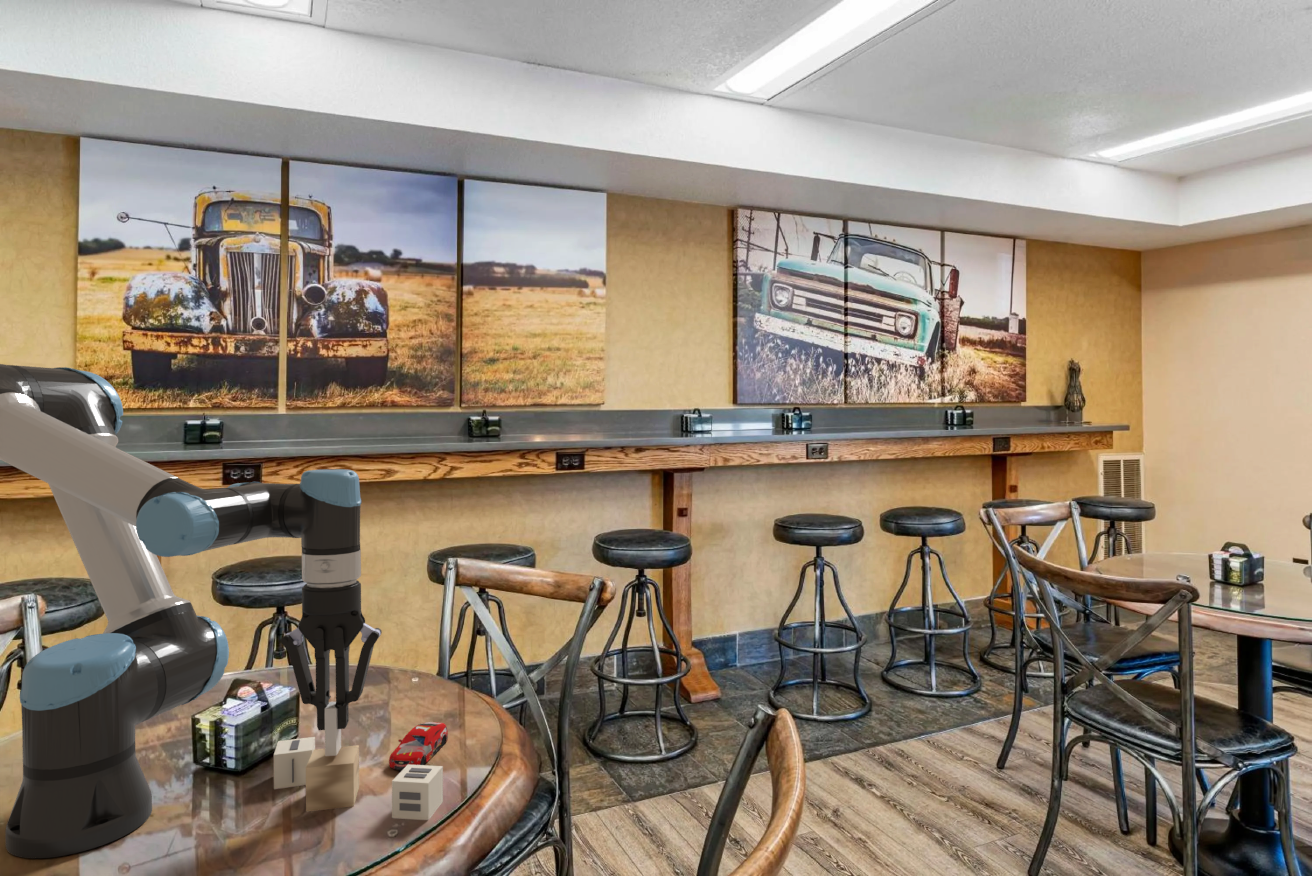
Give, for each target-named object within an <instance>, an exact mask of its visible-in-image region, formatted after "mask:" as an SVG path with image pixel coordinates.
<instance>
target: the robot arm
mask: <svg viewBox="0 0 1312 876" xmlns="http://www.w3.org/2000/svg"><path fill="white" fill-rule="evenodd" d="M123 408H124V407H123V403H122V400H121V398H120V394H118V392H117V390H116V389H115V388H114V386H113V385H112V384H111V383H110V381H109V382H108V381H107V380H106V379H105V378H104V377H102V376H100V375H98V374H96V373H93V372H91V371H87V370H80V369H76V368H72V367H66V366H65V367H62V366H61V367H39V366H30V365H29V366H27V365H13V364H5V363H4V364H3V363H0V461H2V462H4V463H6V464H9V465H10V466H12V467H14V468H16V469H18V470H20V471H22V472H24V473H26V474H29V475H30V476H32V477H35V478H37V479H38V480H40V481H42V482H44V483H46V484H48V486H49V488H50V489H49V490H51V493H52V496H53V497H54V500H55V502H56V505H57V506H58V509H59V512H60V513H61V516H62V519H63V520H64V523H65V525H66V527H67V530H68V532H69V534H70V537H71V539H72V541H73V543H74V546H75V548H76V550H77V552H78V554H79V555H78V556H79V558H80V559H81V562H82V564H83V566H84V569H85V571H86V573H87V575H88V578H89V580H90V583H91V584H92V588H93V589H94V591H95V594H96V596H97V600H99V601H98V602H99V603H100V606H101V608H102V610H103V612H104V614H105V617H106V620H107V625H106V627H105V628H104V631H103V633H97V634H90V635H86V636H84V637H81V638H78V637H77V638H72V639H69V640H66V641H65V640H64V641H63V642H59V643H56V644H54V645H52V646H50V647H47V648H45V649H44V650H42V651H40V652H38V653H37V654H36V655H34V656H32V657H31V658H30V659H29V661H28V662H27V663H26V664H25V666H24V667H23V671H22V677H21V680H22V681H21V690H20V692H19V703H20V705H21V730H22V732H21V733H22V734H21V735H22V736H21V737H22V781H21V784H20V787H19V790H18V793H17V796H16V799H15V800H14V804H13V807H12V810H11V811H10V815H9V817H8V820H7V823H6V826H5V848H6V851H7V852H8V853H9V854H11V855H13V856H15V857H19V858H24V859H47V858H49V859H50V858H57V857H64V856H68V855H69V856H70V855H73V854H78V853H82V852H86V851H89V850H93V849H96V848H98V847H101V846H104V845H107V844H110V843H112V842H114V841H116V840H118V839H121V838H123V837H124V836H127V835H128V834H130V833H131V832H134V831H135V830H137V829H138V828H139V827H141V826H142V825H143V824H144V823H145V822H146V821H147V820H148V819H149V818H150V817H151V815H152V812H153V794H152V790H151V788H150V786H149V783H148V781H147V779H146V777H145V774H144V772H143V770H142V767H141V765H140V763H139V760H138V758H137V755H136V754H137V753H136V752H137V751H136V726H137V725H139V724H140V723H143V722H146V721H148V720H150V719H152V718H154V717H157V716H159V715H162V714H164V713H166V712H168V711H171V710H173V709H176V708H177V707H179V706H181V705H182V706H183V705H187V704H189V703H191V702H192V701H194V700H197V699H198V698H199V697H201V696H202V695H204V694H206V693H208V692H210V691H211V690H212V689H213V688H214V687H216V685H217V684H218V683H219V682H220V680H222V678H223V676H224V675H225V670H226V667H227V666H228V663H229V656H230V648H229V641H228V638H227V635H226V632H225V631H224V629H223V628H222V627H221V625H220V624H219V623H218V622H217V621H215V620H212V619H211V618H210V617H207V616H204V615H197V614H196V611H195V609H194V606H193V604H192V602H191V601H190V600H189V599H185V598H183V597H179V596H177V595H176V594H175V593H174V591H173V589H172V586H171V584H170V582H169V580H168V577H167V575H166V573H165V571H164V569H163V567H162V564H161V562H160V560H159V557H163V558H171V557H178V556H179V557H181V556H182V557H185V556H186V557H187V556H194V555H196V554H199V553H202V552H207V551H209V550H210V551H211V550H214V549H220V548H223V547H227V546H232V545H239V544H242V543H247V542H252V541H257V540H261V539H266V538H267V539H268V538H285V539H286V538H292V539H301V543H300V544H301V546H300V547H301V581H303V582H304V583H305V584H304V585H303V586H302V587H301V613H302V616H301V619H300V620H299V622H298V627H296V628H295V629H293V630H292V631H291V630H290V631H287V633H286V634H284V635H283V636H282V637H281V639H280V643H281V644H282V646H283V647H284V648H285V650H286V651H287V653H288V654H289V659H290V662H291V665H292V669H293V670H292V671H293V672H294V673H293V674H294V676H295V681H296V684H297V688H298V691H299V694H300V698H301V702H302V704H303V705H304V704H305V705H309V704H310V705H313V706H314V707H316V727H317V730H318V731H324V748H325V756H336V755H337V754H338V752H339V750H340V748H341V747H342V730H344V729H346V728H347V726H348V723H349V721H350V719H349V717H350V716H349V715H350V714H349V704H350V703H353V702H357V701H359V699H360V698H361V696H362V694H363V691H364V689H365V688H364V687H365V683H366V679H367V674H368V670H369V667H370V663H371V659H372V655H373V651H374V647H375V644H376V642H377V641H378V640H379V638H380V636H381V635H382V632H383V631H382V629H381V628H379V627H375V628H374V627H372V626H370V625H369V624H368V623H366V619H365V617H364V615H363V612H362V584H361V582H360V581H359V580H358V579H360V577H361V576H362V558H361V557H362V552H361V507H362V506H361V504H362V498H361V492H360V491H361V487H360V478H359V477H360V476H359V474H358V473H357V472H356V471H354V470H351V469H345V468H343V469H342V468H341V469H340V468H339V469H337V468H336V469H329V468H328V469H312V470H311V469H310V470H305V471H304V472H303V473H302V474H301V476H300V482H299V483H292V484H291V483H272V482H271V483H269V482H260V481H252V482H251V481H250V482H240V483H239V482H237V483H233V484H230V485H229V486H227V487H221V488H214V489H213V488H212V489H205V488H201V487H198V486H196V485H195V484H193V483H190V482H188V481H185V480H184V479H182V478H179V476H175V475H173V474H171V473H170V472H167V471H165V470H164V469H161V468H160V467H158V466H155V465H153V464H150V463H148V462H146V461H145V460H143V459H140V458H138V457H137V456H134V455H132V454H130V453H128V452H126V451H124V450H121V449H119V448H118V447H117V445H118V443H119V438H118V436H117V434H118V433H119V432H120V429H121V427H122V425H123V420H122V419H121V417H123V416H124V409H123ZM158 556H159V557H158ZM359 633H361V638H360V639H361V642H362V643H363V645H362V647H361V649H360V654H359V658H358V661H357V665H356V670H355V674H354V678H353V681H352V685H351V690H350V648H351V647H350V645H351V644H352V643H353V642H354V640H355V639H356V638H357V636H358V635H359ZM304 638H305V639H306V640H307V642H308V643H309V644H310V645H311V646H312V648H313V649H314V660H315V684H314V680H313V676H312V672H311V669H310V665H309V662H308V657H307V655H306V651H305V647H304V645H303V642H304ZM331 650H332V651H333V652H334V659H335V661H334V662H335V701H330V699H331V698H332V695H330V694H331V692H330V691H331V690H330V688H331V686H330V685H331V683H330V682H331V681H330V680H331V679H330V678H331V677H330V653H331Z"/></svg>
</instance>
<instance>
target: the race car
mask: <svg viewBox="0 0 1312 876" xmlns="http://www.w3.org/2000/svg"><path fill="white" fill-rule="evenodd" d="M448 738H449V731H448V726H447V725H446V724H445V723H444V722H439V721H438V722H435V721H427V722H422V723H419V724H417V725H415V726H414V727H412V728H411V729H410V731H408V733H406V735H405V736H404V737H403V738H402V739H398V742H399V744H398V746H397V747H396V748H395V749H394V750H393V752H391V753H390V756H389V759H388V763H389V768H391V769H393V770H397V771H402V770H403V769H404V768H405V767H406V766H407V765H408V764H409V765H426V763H428V762H429V760H431V759H432V758H433V757H434V755H436V754H437V752H439V750H440V749H442V748H443V747H444V746H445V745H447V744H446V743H447V742H448Z"/></svg>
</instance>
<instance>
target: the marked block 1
mask: <svg viewBox="0 0 1312 876" xmlns="http://www.w3.org/2000/svg"><path fill="white" fill-rule="evenodd" d="M314 749H316V736H309V737H302V738H301V737H300V738H296V739H295V738H293V739H292V738H291V739H286V740H278V741H277V744H276V747H275V749H274V753H273V789H274V790H279V789H285V788H294V787H299V786H306V766H307V764H308V762H309V759H310V757H311V755H312V752H313V750H314Z"/></svg>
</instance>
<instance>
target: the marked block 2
mask: <svg viewBox="0 0 1312 876" xmlns="http://www.w3.org/2000/svg"><path fill="white" fill-rule="evenodd" d="M443 802H444V766H443V765H427V764H425V765H409V764H408V765H407V766H406V767H405V768H404V769H403V770H400V772H399V773H398V774H397V775H396V776H395V777H394V778H393V779H392V780H391V818H392V819H400V820H401V819H403V820H418V821H429V820H430V819H431V817H432V816H433V815H434V814H435V813H436V811H437V810H438V808H439V807H440V806H441V805H442V804H443Z"/></svg>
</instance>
